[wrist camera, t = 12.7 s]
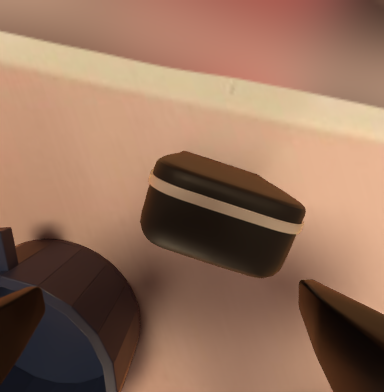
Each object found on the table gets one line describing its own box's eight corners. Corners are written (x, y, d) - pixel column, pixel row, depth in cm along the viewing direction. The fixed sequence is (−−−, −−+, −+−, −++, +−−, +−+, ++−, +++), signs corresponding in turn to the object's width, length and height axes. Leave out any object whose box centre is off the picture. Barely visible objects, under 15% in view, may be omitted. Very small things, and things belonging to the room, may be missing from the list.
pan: (128, 205, 22) (95, 232, 15) (150, 408, 26) (131, 494, 20) (-44, 212, 23) (-142, 239, 16) (4, 405, 27) (-59, 486, 21)
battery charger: (165, 193, 21) (118, 250, 10) (179, 148, 20) (144, 156, 9) (246, 219, 21) (287, 305, 10) (262, 175, 20) (328, 217, 9)
